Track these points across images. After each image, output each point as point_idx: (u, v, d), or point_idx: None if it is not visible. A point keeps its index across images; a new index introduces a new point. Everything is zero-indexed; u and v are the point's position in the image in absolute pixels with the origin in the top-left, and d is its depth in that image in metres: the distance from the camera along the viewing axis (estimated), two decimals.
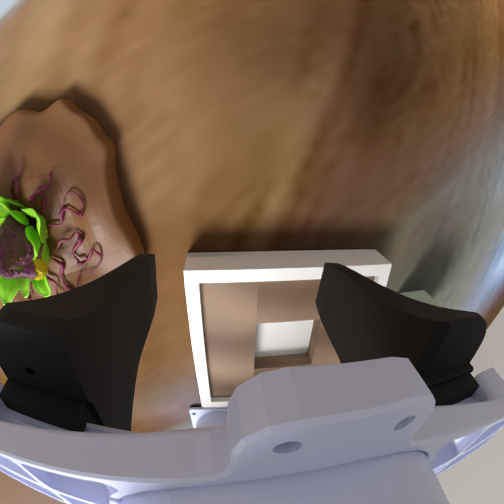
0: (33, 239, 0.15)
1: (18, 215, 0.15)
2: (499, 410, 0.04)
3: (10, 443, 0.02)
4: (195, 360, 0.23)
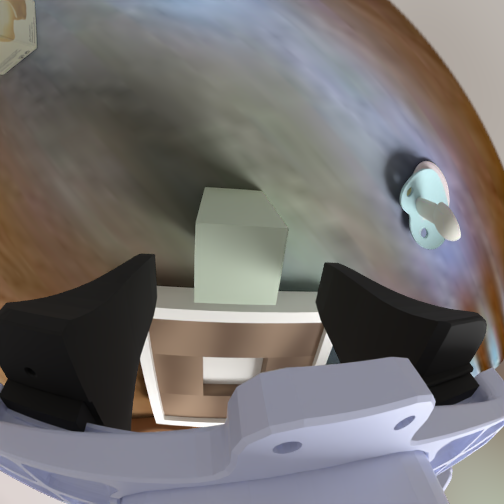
0: None
1: None
2: (499, 410, 0.04)
3: (10, 443, 0.02)
4: None
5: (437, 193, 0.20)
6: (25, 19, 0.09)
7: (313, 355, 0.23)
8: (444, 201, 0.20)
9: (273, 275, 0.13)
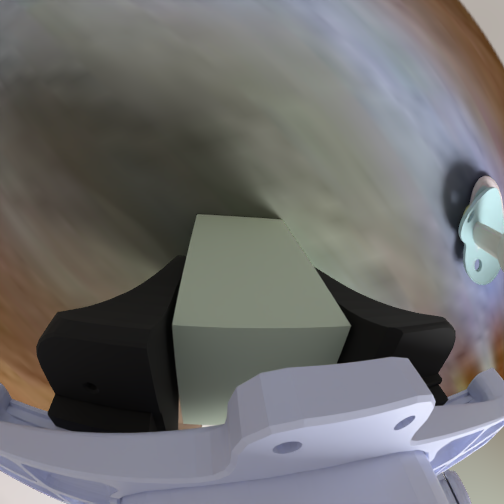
0: None
1: None
2: (499, 410, 0.04)
3: (10, 443, 0.02)
4: None
5: (495, 216, 0.14)
6: None
7: None
8: (500, 226, 0.14)
9: None
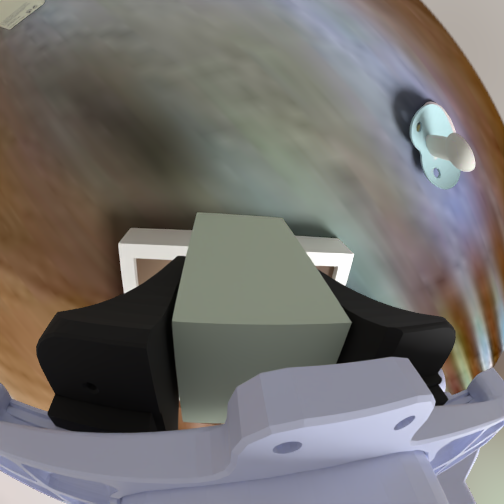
0: None
1: None
2: (499, 410, 0.04)
3: (10, 443, 0.02)
4: None
5: (446, 133, 0.18)
6: None
7: None
8: None
9: None
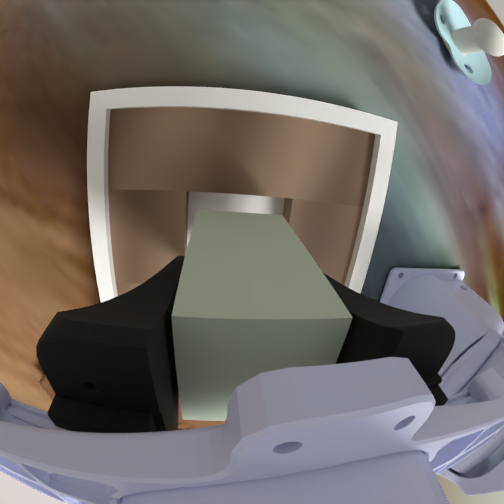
0: None
1: None
2: (499, 410, 0.04)
3: (10, 443, 0.02)
4: None
5: None
6: None
7: (360, 205, 0.15)
8: None
9: None
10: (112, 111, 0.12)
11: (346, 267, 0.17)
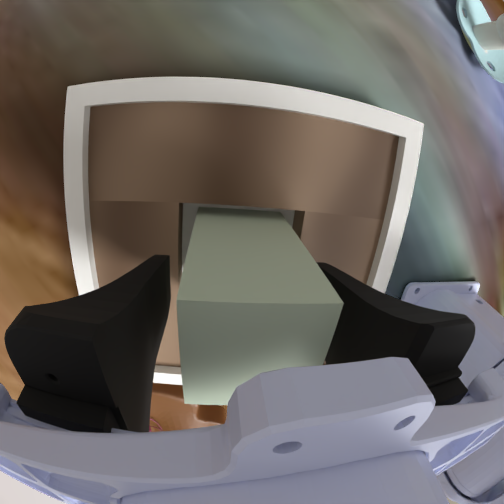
0: None
1: None
2: (499, 410, 0.04)
3: (10, 443, 0.02)
4: None
5: None
6: None
7: (381, 218, 0.13)
8: None
9: None
10: (92, 108, 0.09)
11: None
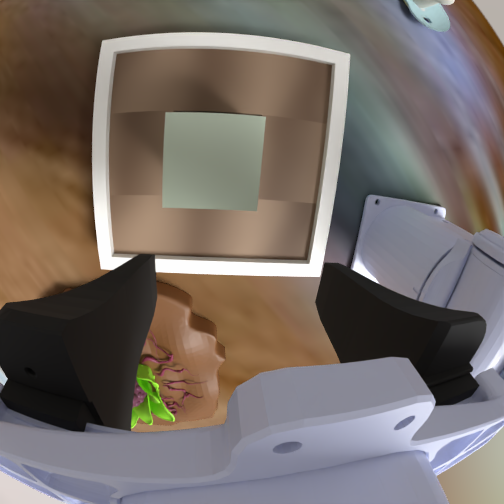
0: None
1: None
2: (499, 410, 0.04)
3: (10, 443, 0.02)
4: (219, 273, 0.19)
5: None
6: None
7: (324, 122, 0.17)
8: None
9: (251, 171, 0.11)
10: (118, 55, 0.13)
11: (317, 179, 0.18)
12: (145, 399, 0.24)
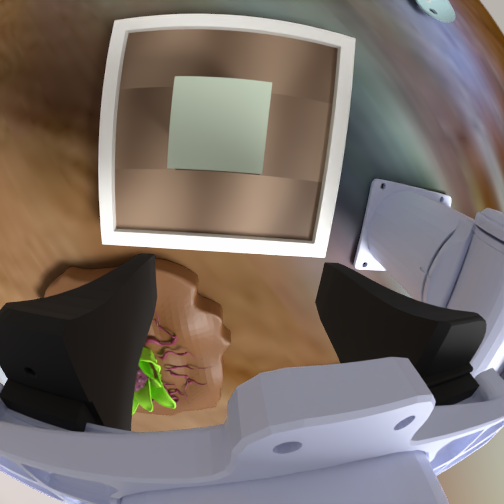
0: None
1: None
2: (499, 410, 0.04)
3: (10, 443, 0.02)
4: (222, 250, 0.19)
5: None
6: None
7: (330, 102, 0.16)
8: None
9: (257, 134, 0.11)
10: (129, 34, 0.13)
11: (323, 157, 0.18)
12: (146, 385, 0.24)
